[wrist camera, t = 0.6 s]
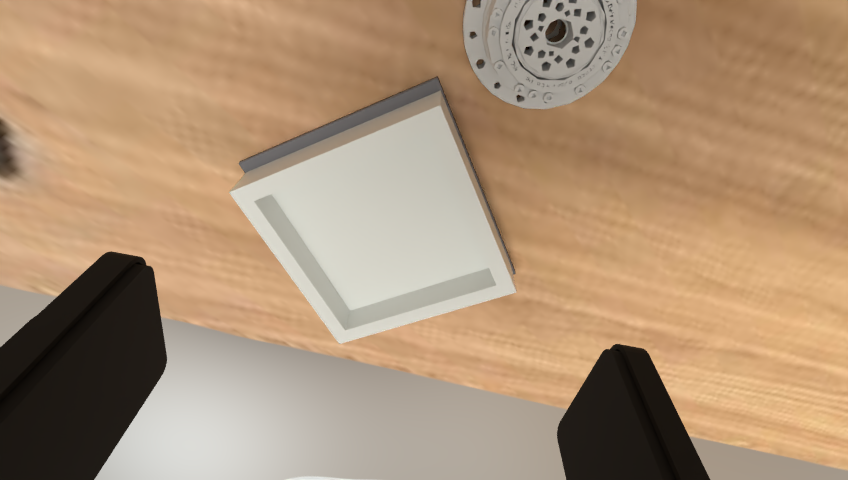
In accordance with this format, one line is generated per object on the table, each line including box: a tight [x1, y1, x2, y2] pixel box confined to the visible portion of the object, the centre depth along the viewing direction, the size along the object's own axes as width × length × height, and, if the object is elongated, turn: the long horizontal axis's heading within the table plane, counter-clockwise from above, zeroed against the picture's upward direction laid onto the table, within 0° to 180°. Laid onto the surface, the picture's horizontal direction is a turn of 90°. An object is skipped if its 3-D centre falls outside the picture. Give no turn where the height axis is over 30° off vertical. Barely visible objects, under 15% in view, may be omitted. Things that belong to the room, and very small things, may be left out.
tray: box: [229, 90, 516, 344], centre depth 34 cm, size 15×15×3 cm
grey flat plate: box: [239, 77, 515, 275], centre depth 36 cm, size 16×17×1 cm
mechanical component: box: [463, 0, 637, 109], centre depth 26 cm, size 10×4×10 cm
